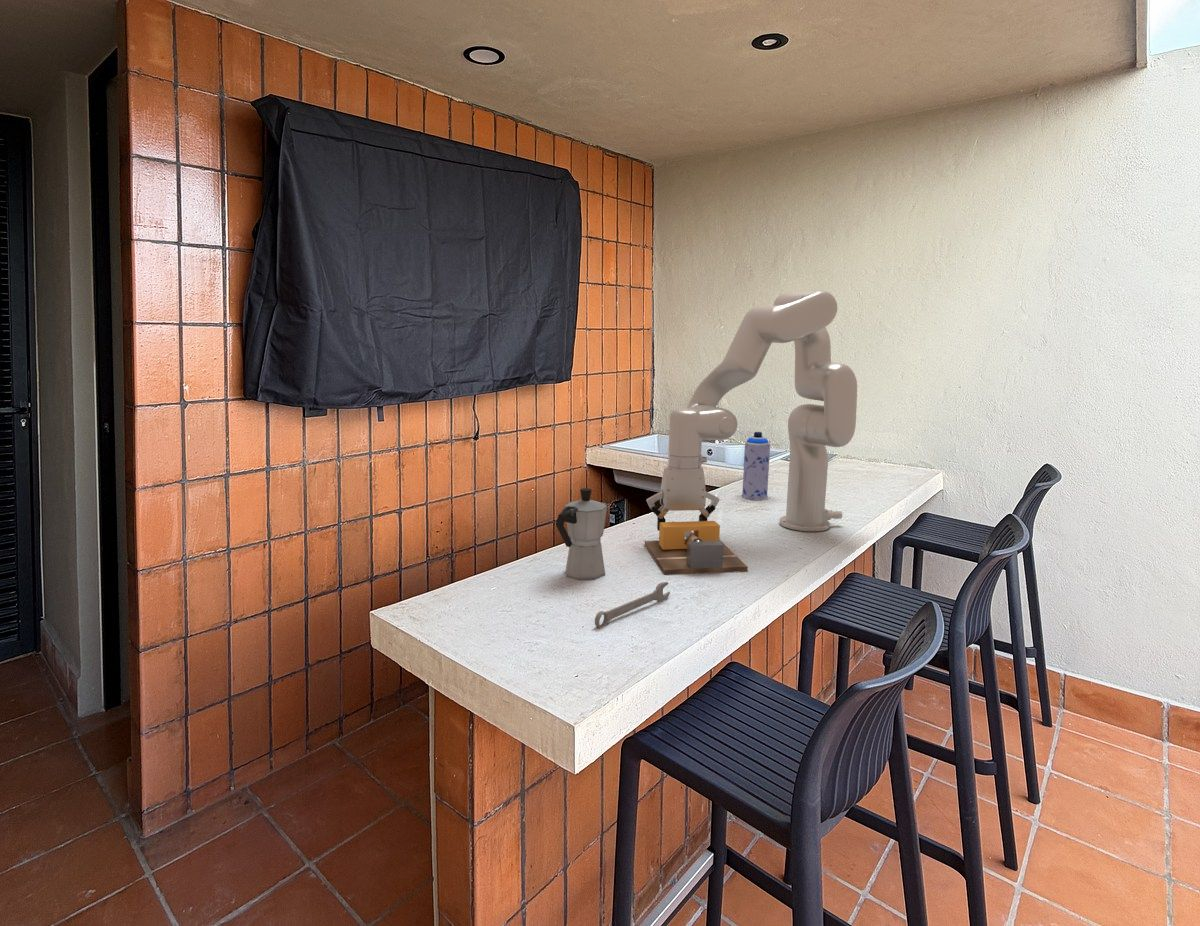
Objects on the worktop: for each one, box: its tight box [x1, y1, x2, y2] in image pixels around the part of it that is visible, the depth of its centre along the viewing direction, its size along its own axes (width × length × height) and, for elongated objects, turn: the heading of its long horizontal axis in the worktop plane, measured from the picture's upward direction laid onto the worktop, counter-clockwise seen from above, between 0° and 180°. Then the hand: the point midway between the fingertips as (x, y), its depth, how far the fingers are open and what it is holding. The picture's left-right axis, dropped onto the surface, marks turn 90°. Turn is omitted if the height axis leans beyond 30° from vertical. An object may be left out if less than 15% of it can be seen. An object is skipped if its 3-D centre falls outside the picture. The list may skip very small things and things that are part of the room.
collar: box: [658, 520, 721, 550], centre depth 159 cm, size 13×4×5 cm, turn 98°
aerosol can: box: [741, 431, 771, 501], centre depth 210 cm, size 8×8×20 cm
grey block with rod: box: [685, 531, 724, 569], centre depth 155 cm, size 7×19×5 cm, turn 8°
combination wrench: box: [594, 581, 671, 629], centre depth 125 cm, size 4×1×20 cm
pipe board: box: [644, 538, 749, 575], centre depth 156 cm, size 18×20×1 cm
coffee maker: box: [555, 487, 608, 581], centre depth 143 cm, size 15×9×18 cm, turn 141°
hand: (681, 532), depth 165 cm, fingers open, 9 cm apart
